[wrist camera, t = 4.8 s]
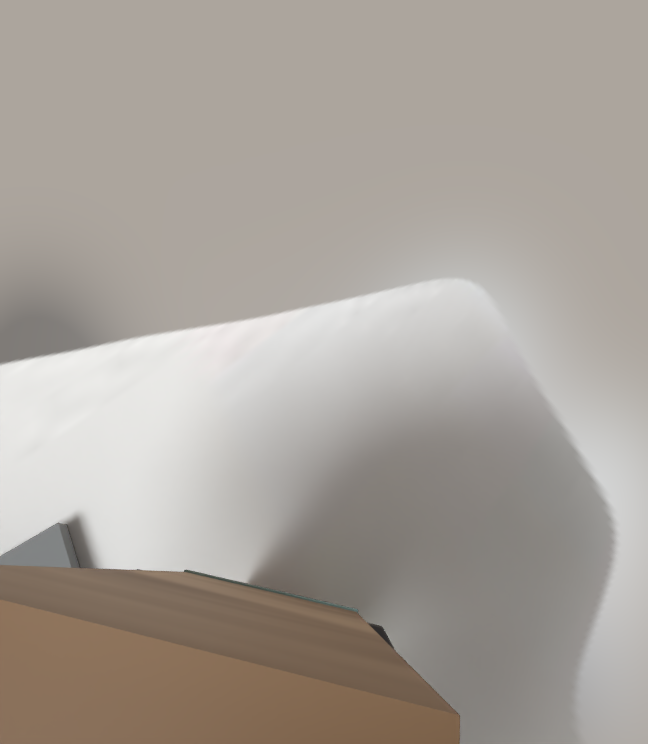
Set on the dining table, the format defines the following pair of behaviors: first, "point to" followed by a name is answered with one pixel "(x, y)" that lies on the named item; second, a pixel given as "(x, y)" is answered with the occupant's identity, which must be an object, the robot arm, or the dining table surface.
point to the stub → (198, 665)
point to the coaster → (44, 550)
